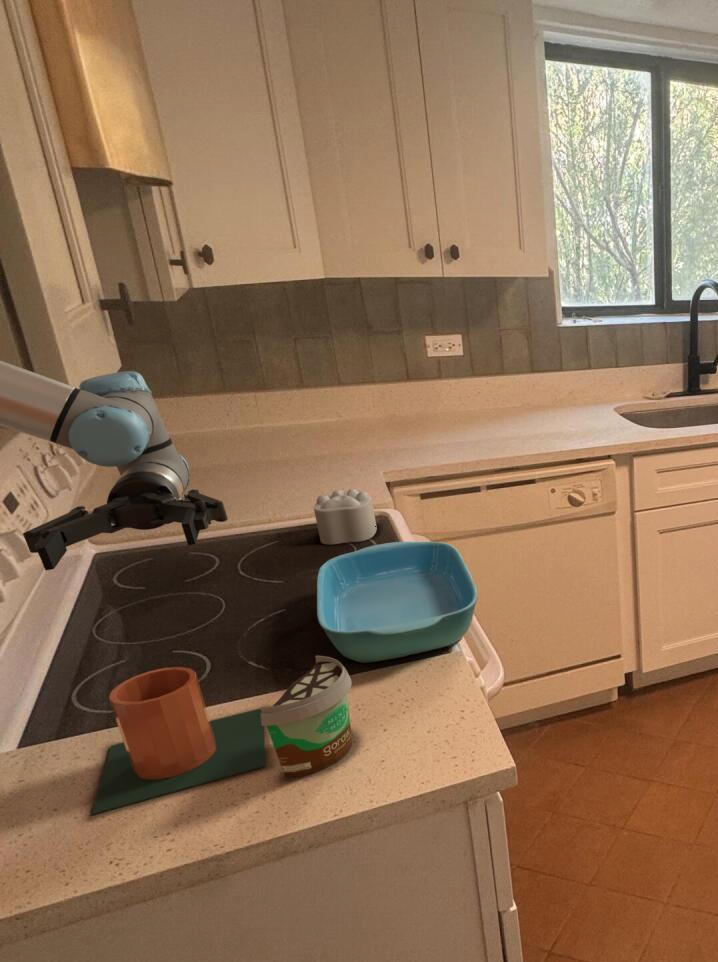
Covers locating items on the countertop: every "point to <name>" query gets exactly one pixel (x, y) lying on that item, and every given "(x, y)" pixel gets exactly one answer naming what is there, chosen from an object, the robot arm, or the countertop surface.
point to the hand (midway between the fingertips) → (119, 546)
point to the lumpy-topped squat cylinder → (345, 517)
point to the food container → (312, 719)
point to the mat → (232, 756)
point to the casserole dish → (395, 600)
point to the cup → (163, 722)
